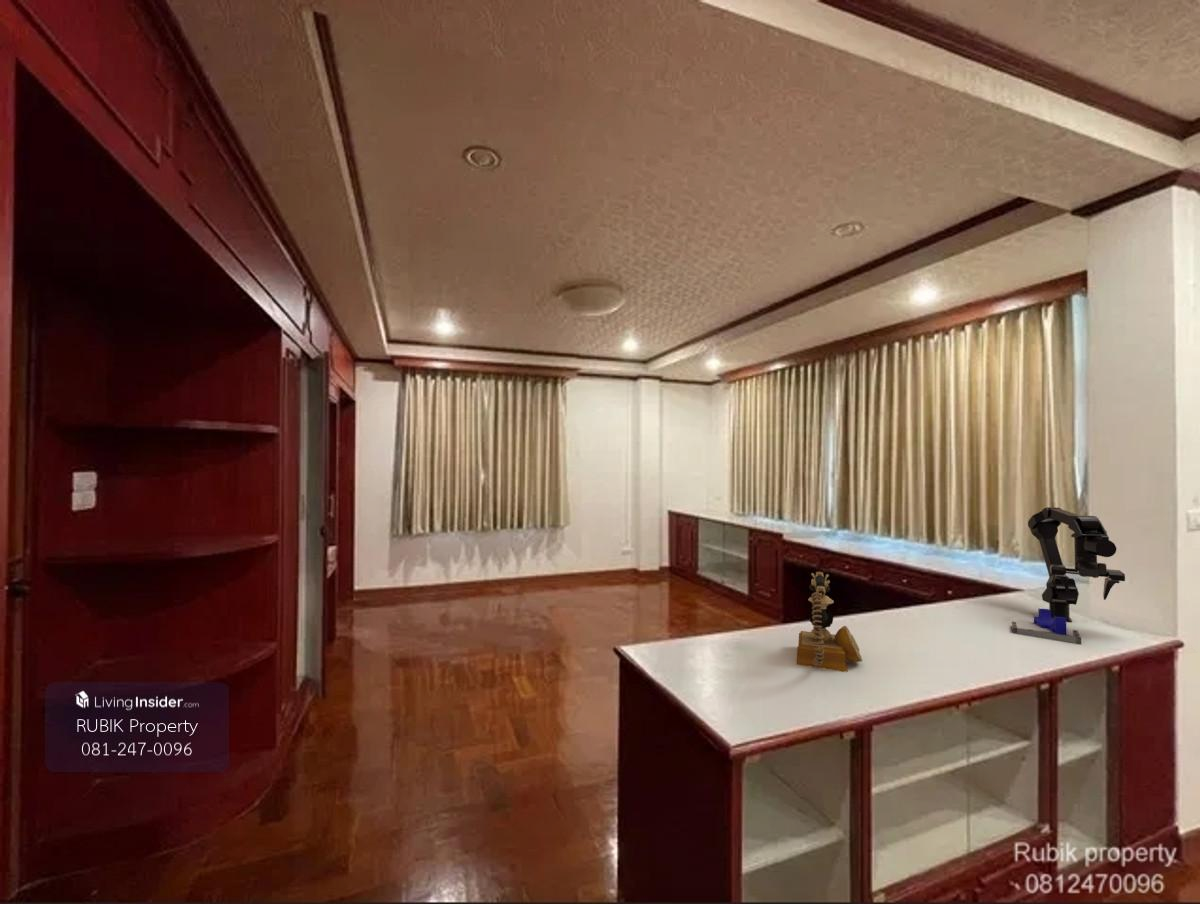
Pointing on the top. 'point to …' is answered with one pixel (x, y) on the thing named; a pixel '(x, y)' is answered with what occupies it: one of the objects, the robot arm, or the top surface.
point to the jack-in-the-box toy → (825, 634)
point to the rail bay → (1048, 634)
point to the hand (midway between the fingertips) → (1086, 597)
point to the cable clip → (1051, 622)
